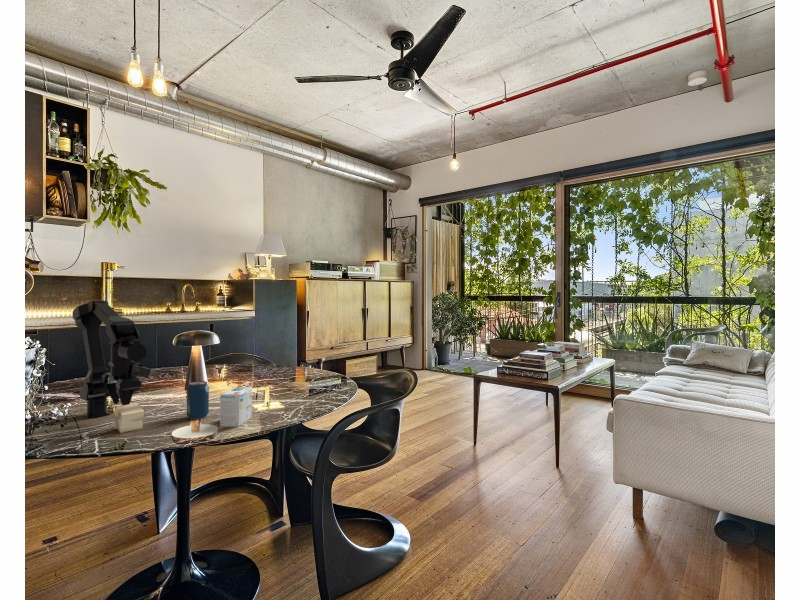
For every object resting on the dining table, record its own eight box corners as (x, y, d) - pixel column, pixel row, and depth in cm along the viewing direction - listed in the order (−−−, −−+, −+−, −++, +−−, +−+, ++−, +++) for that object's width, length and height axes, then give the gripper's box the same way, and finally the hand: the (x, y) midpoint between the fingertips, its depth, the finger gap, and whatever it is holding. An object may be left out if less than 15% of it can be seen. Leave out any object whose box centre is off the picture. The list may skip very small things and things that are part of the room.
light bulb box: (233, 416, 143) (233, 386, 143) (252, 417, 143) (252, 386, 143) (219, 426, 132) (219, 393, 132) (239, 427, 132) (239, 394, 132)
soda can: (212, 414, 145) (213, 381, 145) (200, 420, 138) (200, 385, 138) (195, 413, 146) (195, 380, 146) (181, 419, 139) (182, 384, 139)
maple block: (114, 424, 128) (115, 406, 127) (135, 419, 133) (137, 402, 132) (120, 433, 125) (122, 415, 124) (142, 428, 129) (144, 410, 128)
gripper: (159, 359, 133) (159, 406, 134) (138, 353, 145) (138, 397, 145) (120, 363, 125) (120, 413, 125) (101, 356, 136) (100, 403, 136)
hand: (121, 406), depth 133 cm, fingers open, 9 cm apart
